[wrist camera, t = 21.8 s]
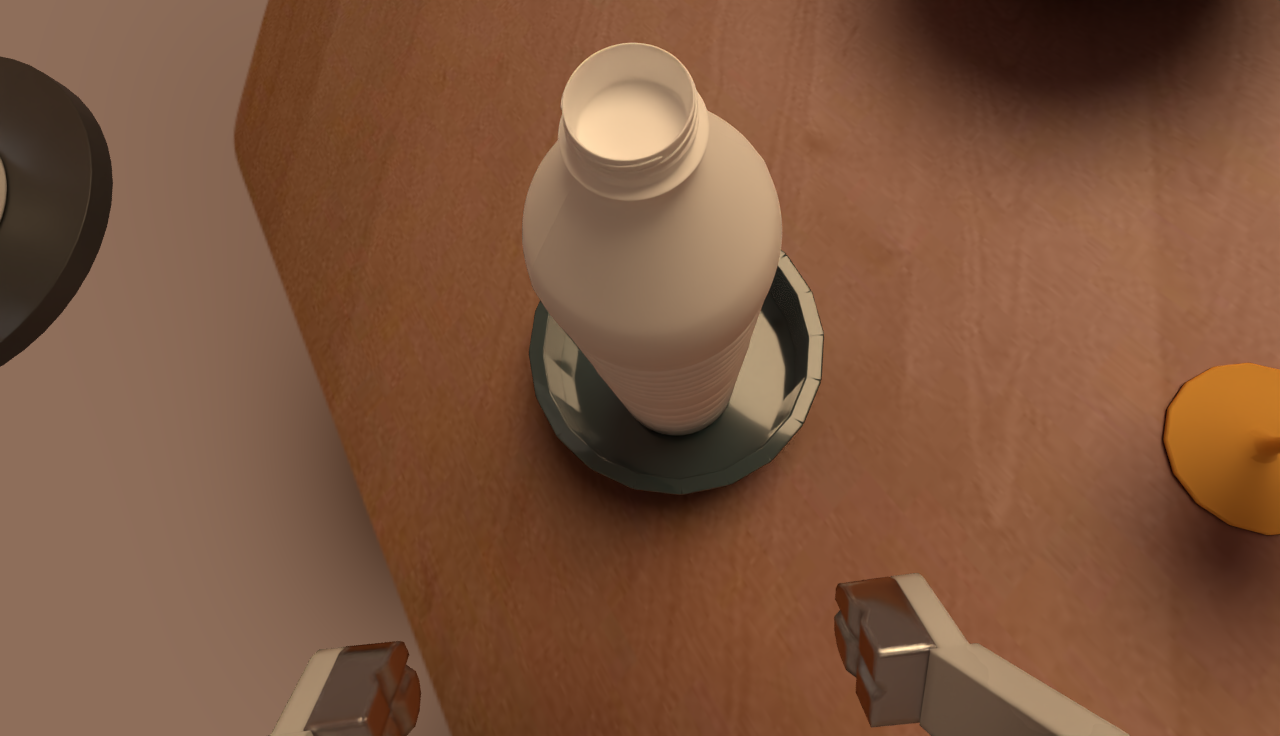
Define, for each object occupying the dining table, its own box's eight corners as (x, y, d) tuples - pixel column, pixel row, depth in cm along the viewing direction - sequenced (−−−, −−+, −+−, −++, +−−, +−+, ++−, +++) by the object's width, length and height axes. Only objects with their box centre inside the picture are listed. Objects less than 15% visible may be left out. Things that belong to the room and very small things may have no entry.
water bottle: (736, 434, 33) (850, 271, 9) (620, 438, 34) (423, 293, 9) (728, 286, 35) (802, -191, 11) (618, 292, 35) (449, -150, 11)
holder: (575, 517, 34) (555, 521, 29) (534, 275, 37) (510, 243, 32) (835, 463, 33) (859, 458, 28) (770, 222, 37) (781, 181, 32)
